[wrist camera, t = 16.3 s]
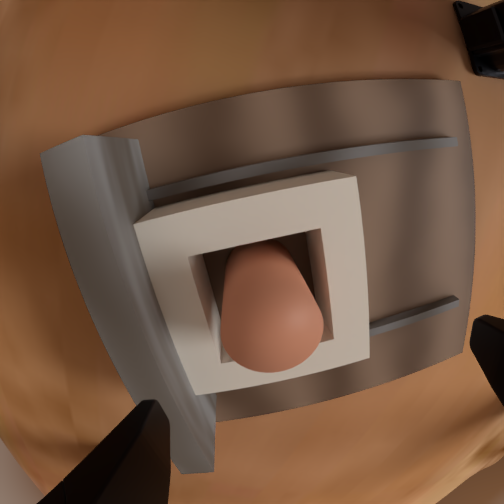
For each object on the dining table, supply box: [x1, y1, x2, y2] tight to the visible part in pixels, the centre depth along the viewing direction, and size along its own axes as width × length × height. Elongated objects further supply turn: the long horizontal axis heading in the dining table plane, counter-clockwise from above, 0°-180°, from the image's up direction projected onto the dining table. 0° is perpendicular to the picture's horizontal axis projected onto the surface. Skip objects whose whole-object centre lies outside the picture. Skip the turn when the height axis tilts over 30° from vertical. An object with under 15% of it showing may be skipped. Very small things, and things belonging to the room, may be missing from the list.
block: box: [133, 170, 370, 395], centre depth 17 cm, size 10×10×4 cm
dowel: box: [220, 239, 324, 373], centre depth 15 cm, size 4×4×7 cm
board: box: [40, 79, 475, 474], centre depth 16 cm, size 24×22×8 cm
